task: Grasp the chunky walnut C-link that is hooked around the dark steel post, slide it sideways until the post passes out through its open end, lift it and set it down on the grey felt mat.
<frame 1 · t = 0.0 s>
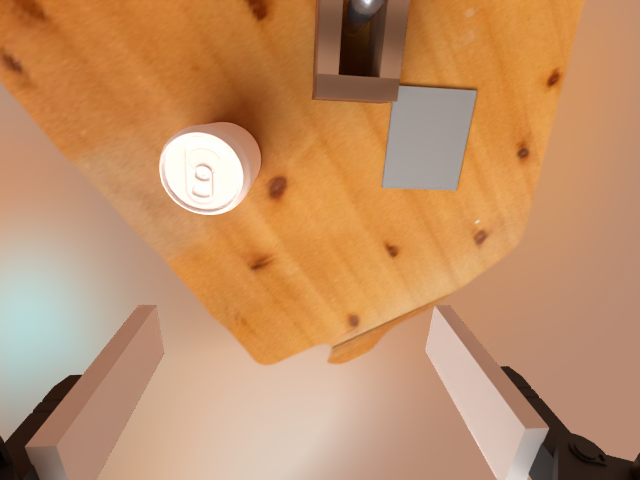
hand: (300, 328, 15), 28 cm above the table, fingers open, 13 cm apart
mat: (426, 141, 40), on the table
post: (352, 21, 35), on the table
c link: (349, 53, 36), on the table
beverage can: (228, 157, 39), on the table
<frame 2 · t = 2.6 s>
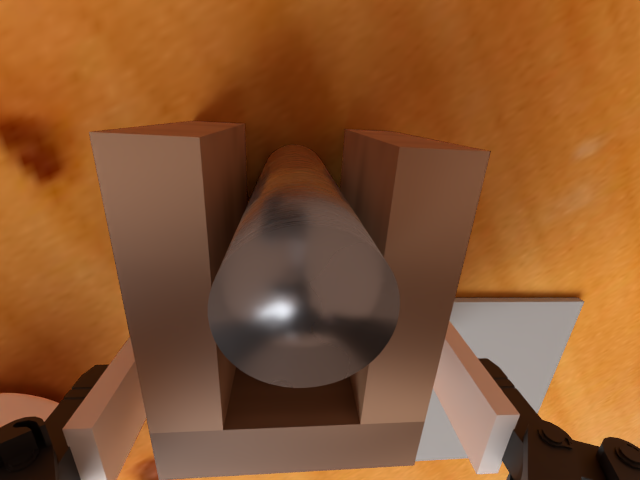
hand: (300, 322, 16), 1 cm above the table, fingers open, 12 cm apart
mat: (466, 384, 19), on the table
post: (294, 176, 14), on the table
c link: (292, 241, 15), on the table
beverage can: (36, 434, 18), on the table
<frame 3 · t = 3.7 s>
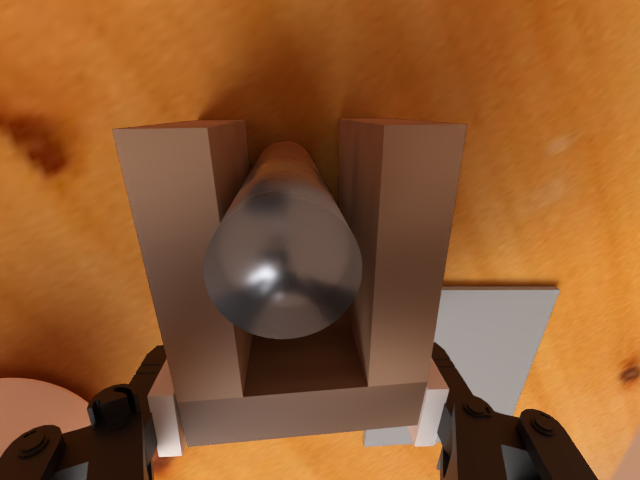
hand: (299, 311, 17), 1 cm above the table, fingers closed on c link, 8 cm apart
mat: (450, 370, 20), on the table
post: (285, 170, 15), on the table
c link: (297, 228, 16), on the table, touching gripper
beverage can: (40, 419, 19), on the table
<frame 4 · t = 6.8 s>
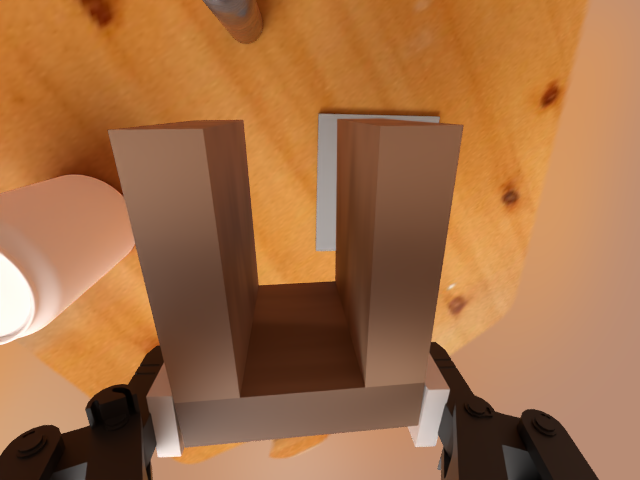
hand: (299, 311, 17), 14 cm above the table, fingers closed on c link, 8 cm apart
mat: (372, 187, 29), on the table
post: (244, 23, 23), on the table
c link: (295, 229, 16), point 13 cm above the table, touching gripper
beverage can: (93, 219, 28), on the table
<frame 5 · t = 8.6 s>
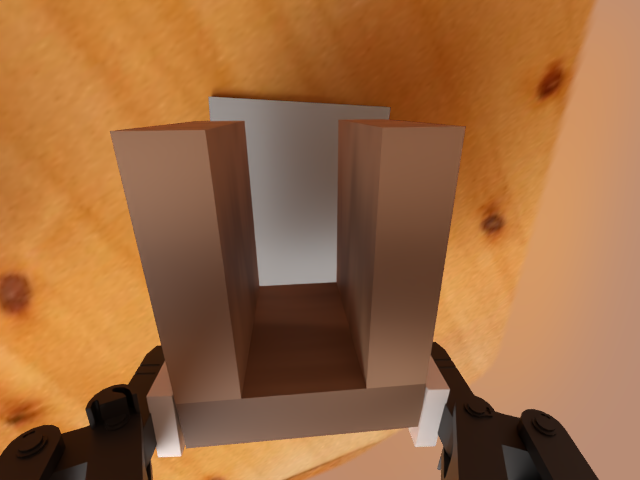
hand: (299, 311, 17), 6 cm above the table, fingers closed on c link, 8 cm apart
mat: (298, 205, 20), on the table
c link: (296, 229, 16), point 5 cm above the table, touching gripper
when the fingers open (1 cm above the table, at t = 9.9 s): c link stays where it is, resting on mat.
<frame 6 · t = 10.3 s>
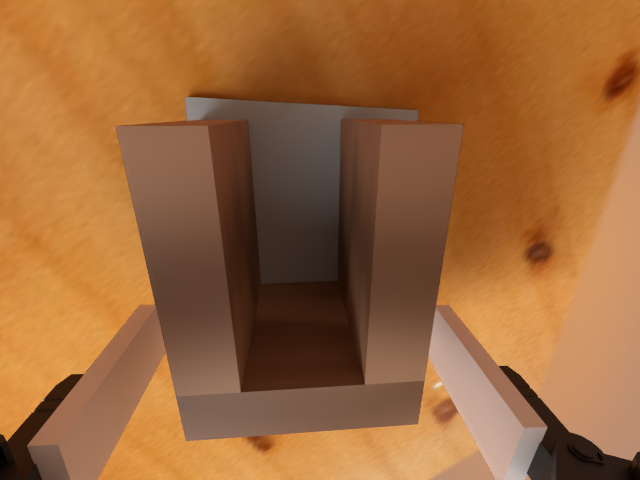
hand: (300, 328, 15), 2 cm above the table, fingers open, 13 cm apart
mat: (301, 232, 16), on the table
c link: (298, 228, 16), resting on mat
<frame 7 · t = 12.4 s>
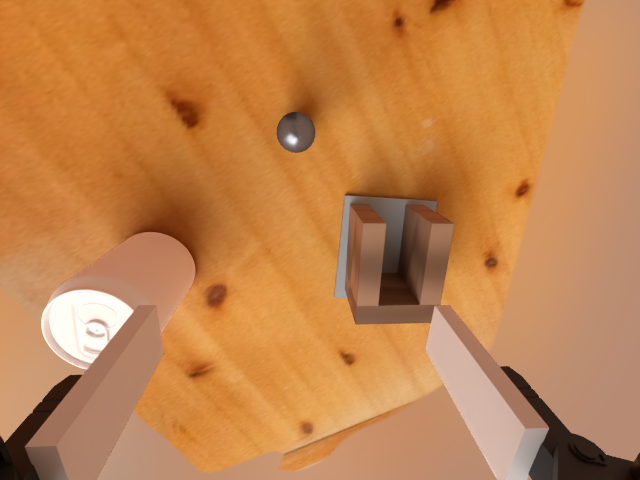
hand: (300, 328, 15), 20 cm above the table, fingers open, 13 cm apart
mat: (383, 250, 36), on the table
post: (295, 130, 31), on the table
c link: (382, 248, 36), resting on mat
beverage can: (159, 264, 35), on the table
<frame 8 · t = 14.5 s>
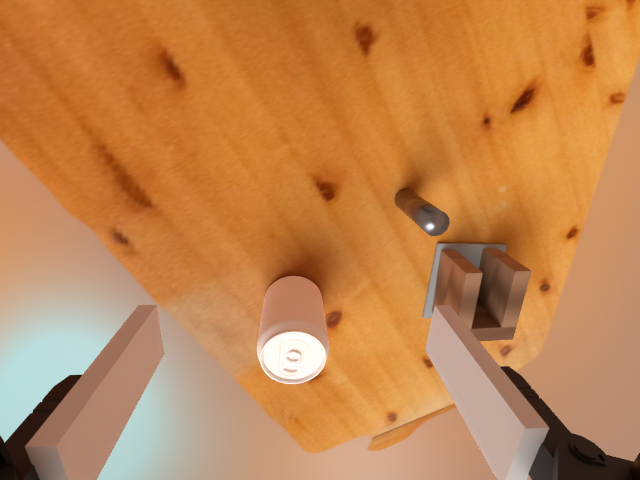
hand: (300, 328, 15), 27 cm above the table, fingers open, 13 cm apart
mat: (462, 281, 47), on the table
post: (404, 199, 41), on the table
c link: (463, 280, 46), resting on mat
beverage can: (293, 298, 46), on the table
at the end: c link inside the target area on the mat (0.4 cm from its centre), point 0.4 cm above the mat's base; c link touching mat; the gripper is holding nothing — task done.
